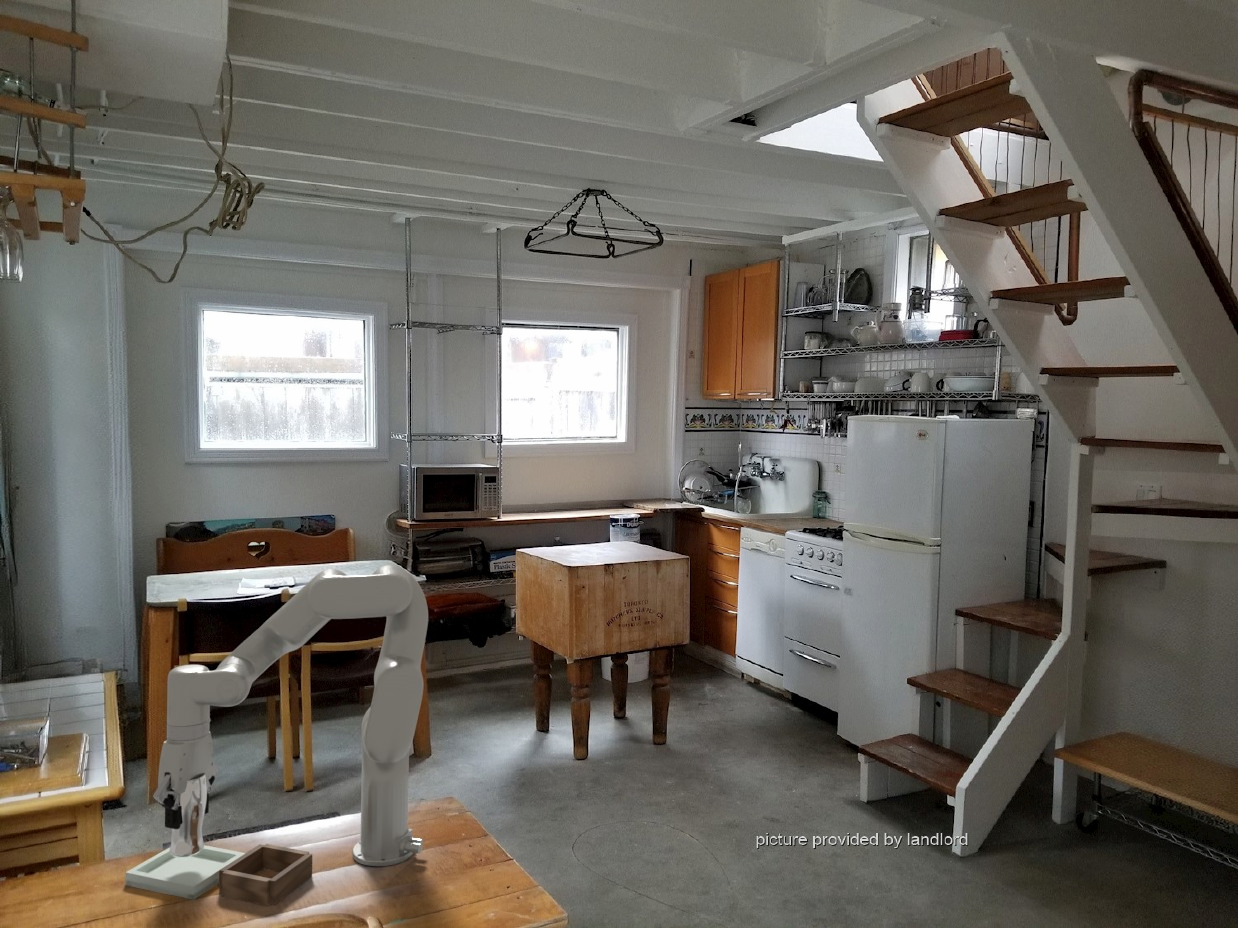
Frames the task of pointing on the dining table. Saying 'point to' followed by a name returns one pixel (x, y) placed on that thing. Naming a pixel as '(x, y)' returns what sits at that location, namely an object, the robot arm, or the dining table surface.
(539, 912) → the dining table surface
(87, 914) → the dining table surface
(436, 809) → the dining table surface
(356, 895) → the dining table surface
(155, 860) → the sage tray
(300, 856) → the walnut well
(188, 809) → the beer glass
